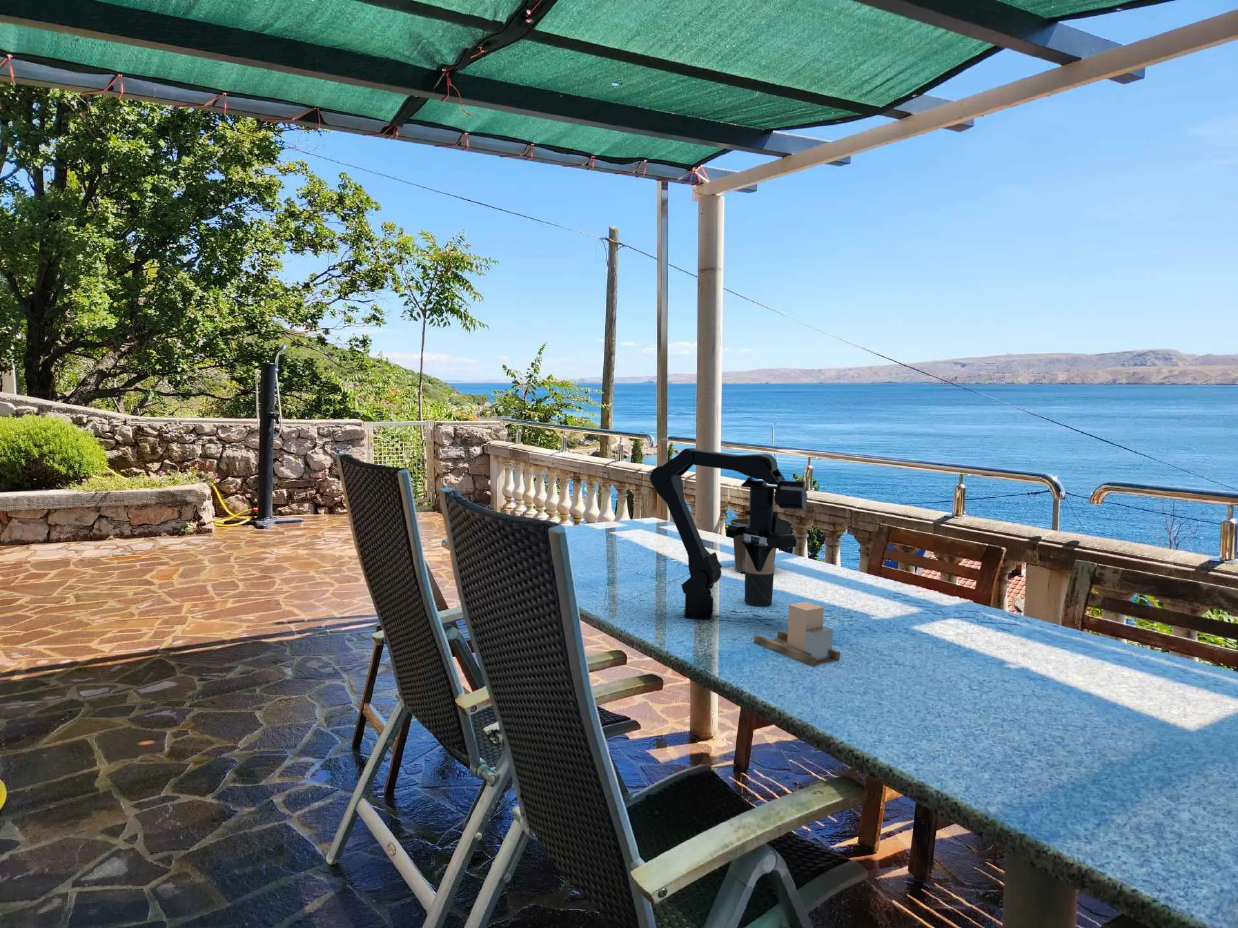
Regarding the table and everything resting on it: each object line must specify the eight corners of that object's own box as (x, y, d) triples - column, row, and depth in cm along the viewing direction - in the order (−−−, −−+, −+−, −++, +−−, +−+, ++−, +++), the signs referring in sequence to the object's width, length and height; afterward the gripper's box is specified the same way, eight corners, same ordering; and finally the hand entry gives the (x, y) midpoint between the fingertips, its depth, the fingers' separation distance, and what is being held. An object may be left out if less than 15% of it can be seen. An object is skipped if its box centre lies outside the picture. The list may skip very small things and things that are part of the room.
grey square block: (803, 664, 154) (805, 630, 154) (824, 659, 158) (825, 626, 157) (810, 667, 153) (812, 633, 152) (831, 662, 156) (833, 629, 155)
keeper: (786, 651, 159) (788, 604, 158) (803, 647, 162) (805, 601, 161) (804, 658, 155) (806, 610, 154) (821, 654, 158) (823, 607, 157)
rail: (753, 645, 166) (754, 635, 165) (780, 640, 170) (780, 630, 170) (811, 669, 151) (812, 658, 151) (839, 663, 155) (839, 651, 155)
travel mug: (764, 608, 197) (767, 532, 195) (738, 603, 201) (741, 529, 200) (777, 602, 203) (780, 529, 201) (751, 597, 207) (754, 525, 206)
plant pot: (719, 566, 247) (721, 517, 246) (764, 564, 252) (765, 516, 250) (742, 577, 231) (744, 525, 230) (789, 575, 236) (791, 524, 235)
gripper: (814, 509, 176) (811, 575, 177) (759, 500, 192) (757, 560, 193) (779, 512, 170) (777, 580, 172) (725, 502, 186) (723, 565, 187)
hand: (759, 571), depth 181 cm, fingers closed
